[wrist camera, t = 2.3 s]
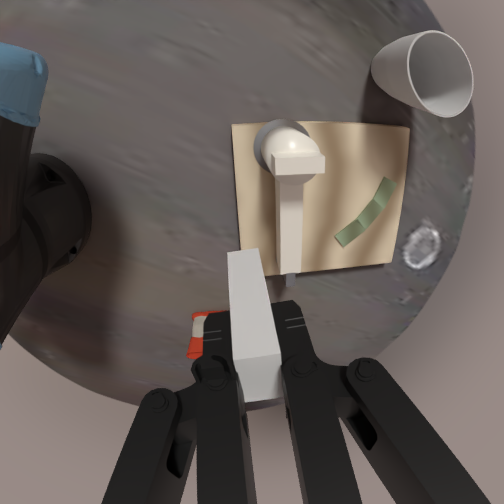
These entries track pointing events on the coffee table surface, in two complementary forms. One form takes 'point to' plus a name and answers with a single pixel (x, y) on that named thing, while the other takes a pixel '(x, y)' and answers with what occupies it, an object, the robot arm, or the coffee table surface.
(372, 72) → the cup
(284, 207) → the lever
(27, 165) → the robot arm
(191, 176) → the coffee table surface
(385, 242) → the board
